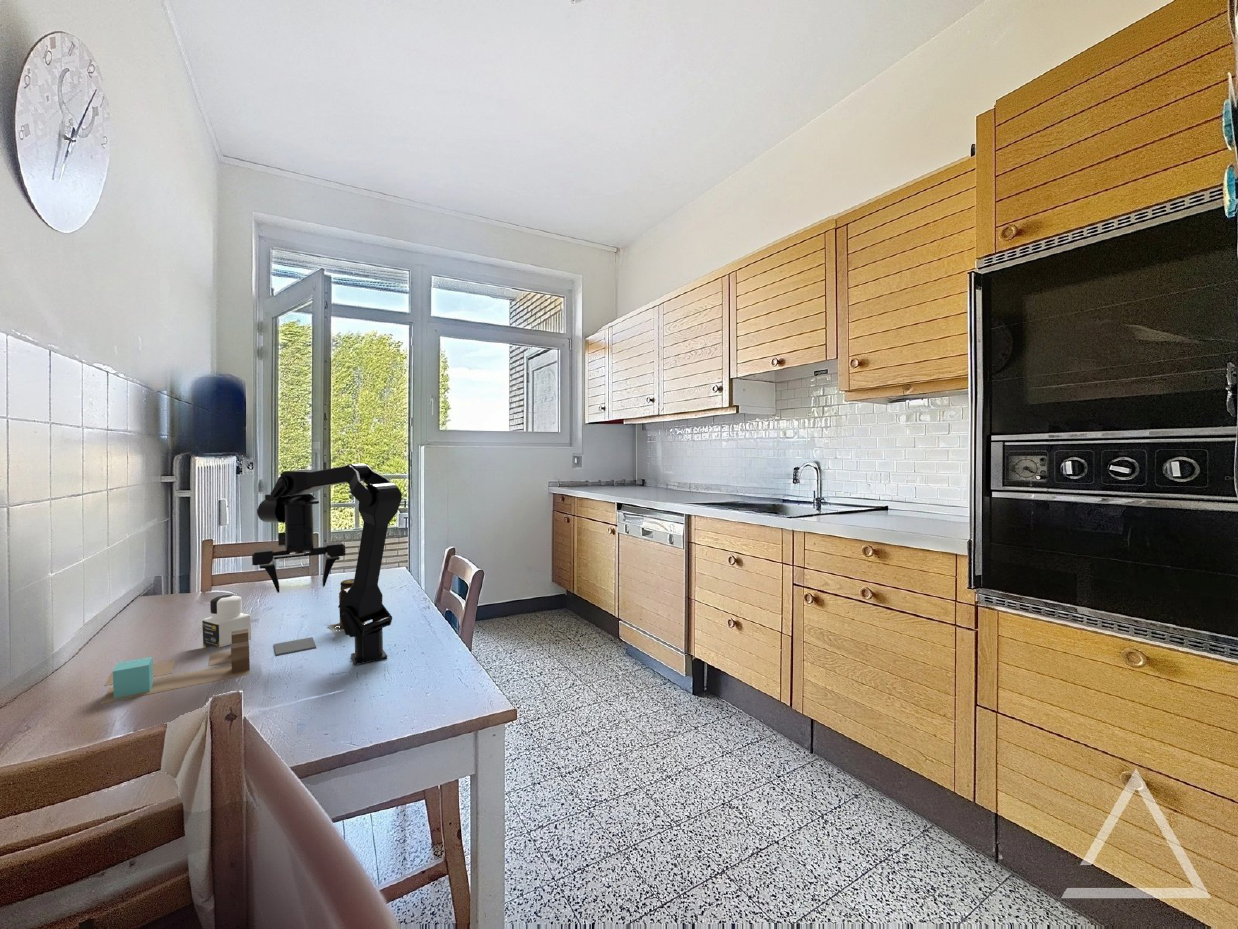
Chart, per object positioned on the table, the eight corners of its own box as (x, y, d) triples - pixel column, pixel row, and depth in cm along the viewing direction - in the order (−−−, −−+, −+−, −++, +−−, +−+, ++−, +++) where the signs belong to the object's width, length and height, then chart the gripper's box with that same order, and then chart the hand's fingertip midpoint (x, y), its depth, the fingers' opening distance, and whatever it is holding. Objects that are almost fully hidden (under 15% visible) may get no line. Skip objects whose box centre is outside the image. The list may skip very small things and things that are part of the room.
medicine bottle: (202, 649, 128) (200, 598, 127) (235, 639, 134) (234, 591, 134) (218, 654, 124) (217, 602, 124) (252, 644, 131) (250, 594, 130)
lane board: (219, 690, 105) (218, 682, 105) (67, 722, 93) (67, 714, 93) (221, 656, 123) (221, 650, 122) (93, 680, 110) (93, 673, 110)
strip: (250, 679, 109) (249, 649, 109) (101, 710, 97) (99, 676, 97) (249, 666, 116) (248, 638, 116) (109, 694, 103) (108, 662, 103)
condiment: (370, 625, 144) (369, 580, 143) (335, 633, 138) (334, 586, 137) (360, 619, 149) (359, 576, 149) (327, 626, 143) (325, 581, 143)
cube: (149, 691, 102) (148, 665, 102) (113, 698, 99) (112, 671, 99) (153, 682, 106) (152, 656, 106) (118, 689, 103) (117, 662, 103)
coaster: (316, 649, 127) (316, 646, 127) (275, 657, 122) (275, 654, 122) (312, 639, 133) (312, 637, 133) (273, 646, 129) (273, 644, 129)
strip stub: (249, 663, 118) (248, 635, 117) (208, 671, 114) (207, 642, 113) (248, 652, 124) (247, 625, 124) (210, 659, 120) (209, 632, 120)
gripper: (339, 517, 140) (341, 577, 140) (252, 523, 130) (254, 588, 130) (344, 521, 130) (346, 586, 131) (250, 528, 120) (253, 598, 121)
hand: (301, 589), depth 128 cm, fingers open, 9 cm apart
